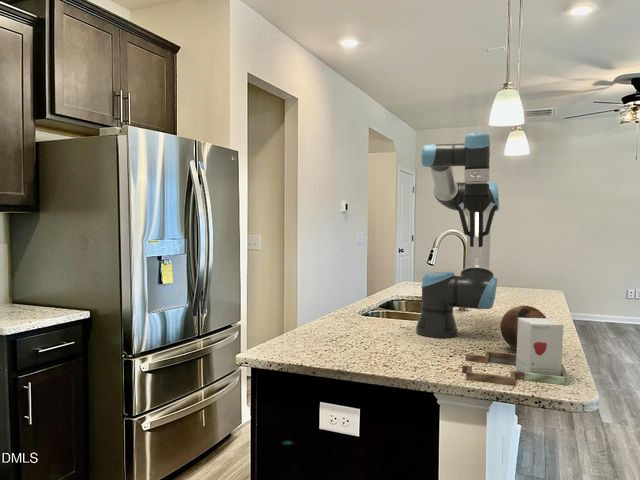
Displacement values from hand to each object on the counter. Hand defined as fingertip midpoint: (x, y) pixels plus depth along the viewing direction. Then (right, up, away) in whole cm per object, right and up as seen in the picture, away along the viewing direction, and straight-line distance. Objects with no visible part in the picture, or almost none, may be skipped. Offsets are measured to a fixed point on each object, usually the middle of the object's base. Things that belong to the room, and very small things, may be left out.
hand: (476, 257), depth 157 cm
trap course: (+4, -32, -19) cm, 37 cm away
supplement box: (+10, -32, -21) cm, 40 cm away
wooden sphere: (+17, -31, +4) cm, 36 cm away
